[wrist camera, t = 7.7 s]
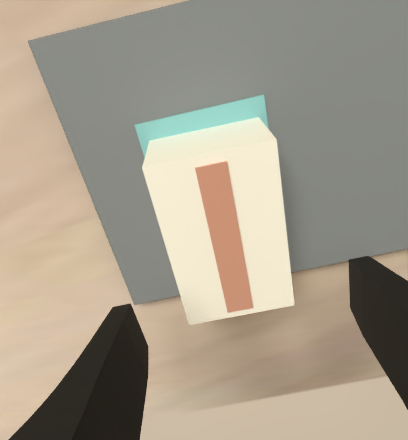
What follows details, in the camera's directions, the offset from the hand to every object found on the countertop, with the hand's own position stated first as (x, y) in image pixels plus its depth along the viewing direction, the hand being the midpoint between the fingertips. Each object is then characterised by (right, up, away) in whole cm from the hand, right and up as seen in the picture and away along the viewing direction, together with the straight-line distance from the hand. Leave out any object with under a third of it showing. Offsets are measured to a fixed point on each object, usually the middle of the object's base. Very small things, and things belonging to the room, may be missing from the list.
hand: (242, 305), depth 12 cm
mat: (+3, +6, +6) cm, 9 cm away
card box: (-1, +3, +6) cm, 7 cm away
